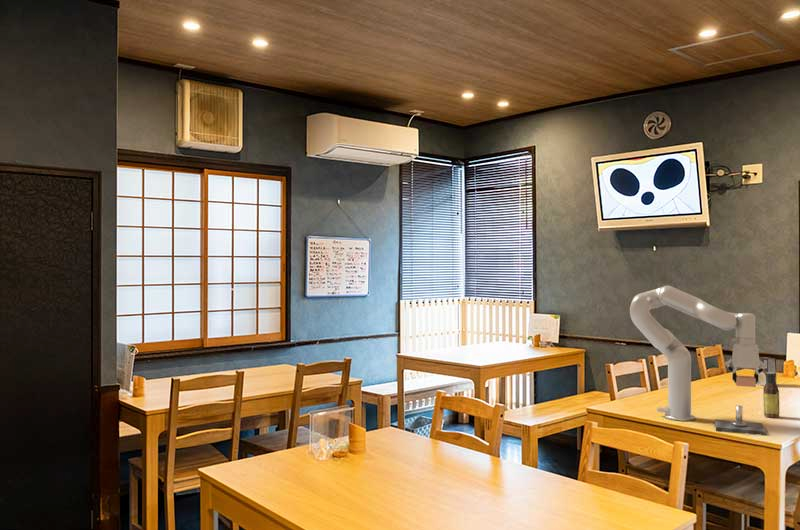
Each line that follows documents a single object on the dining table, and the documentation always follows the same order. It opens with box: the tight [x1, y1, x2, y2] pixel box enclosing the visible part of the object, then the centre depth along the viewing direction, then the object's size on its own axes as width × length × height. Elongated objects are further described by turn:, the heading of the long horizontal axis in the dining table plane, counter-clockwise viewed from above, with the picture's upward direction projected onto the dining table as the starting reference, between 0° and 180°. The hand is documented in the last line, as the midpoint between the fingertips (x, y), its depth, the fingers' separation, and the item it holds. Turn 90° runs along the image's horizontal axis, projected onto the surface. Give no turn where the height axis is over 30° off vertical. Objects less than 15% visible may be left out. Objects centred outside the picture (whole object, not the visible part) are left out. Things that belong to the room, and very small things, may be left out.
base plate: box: [714, 419, 767, 436], centre depth 273 cm, size 18×16×2 cm
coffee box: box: [757, 356, 777, 386], centre depth 380 cm, size 9×6×16 cm
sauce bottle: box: [762, 372, 780, 419], centre depth 296 cm, size 7×6×20 cm
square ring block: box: [734, 374, 757, 388], centre depth 283 cm, size 7×7×4 cm
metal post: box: [731, 405, 747, 427], centre depth 273 cm, size 6×6×8 cm
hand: (745, 382), depth 283 cm, fingers closed on square ring block, 7 cm apart
